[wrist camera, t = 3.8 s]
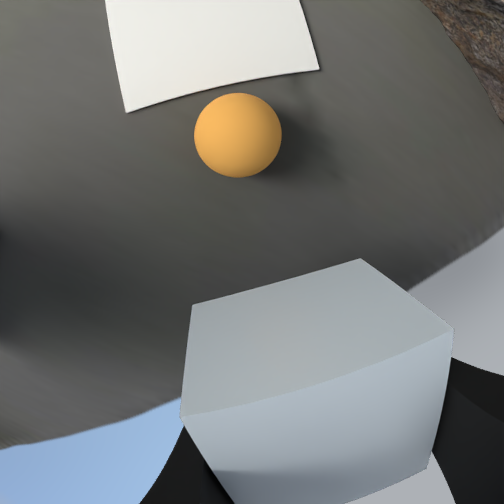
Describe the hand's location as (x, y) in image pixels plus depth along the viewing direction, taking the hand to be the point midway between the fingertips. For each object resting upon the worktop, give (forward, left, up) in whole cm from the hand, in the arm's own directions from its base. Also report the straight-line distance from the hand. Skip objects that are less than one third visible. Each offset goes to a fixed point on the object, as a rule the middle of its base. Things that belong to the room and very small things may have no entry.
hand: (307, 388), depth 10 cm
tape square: (+11, +11, -8) cm, 18 cm away
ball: (+6, +6, -7) cm, 11 cm away
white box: (0, 0, -2) cm, 2 cm away
